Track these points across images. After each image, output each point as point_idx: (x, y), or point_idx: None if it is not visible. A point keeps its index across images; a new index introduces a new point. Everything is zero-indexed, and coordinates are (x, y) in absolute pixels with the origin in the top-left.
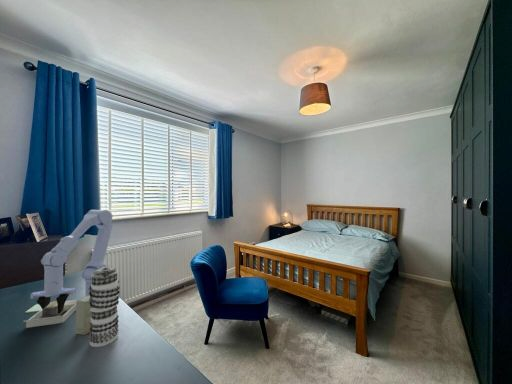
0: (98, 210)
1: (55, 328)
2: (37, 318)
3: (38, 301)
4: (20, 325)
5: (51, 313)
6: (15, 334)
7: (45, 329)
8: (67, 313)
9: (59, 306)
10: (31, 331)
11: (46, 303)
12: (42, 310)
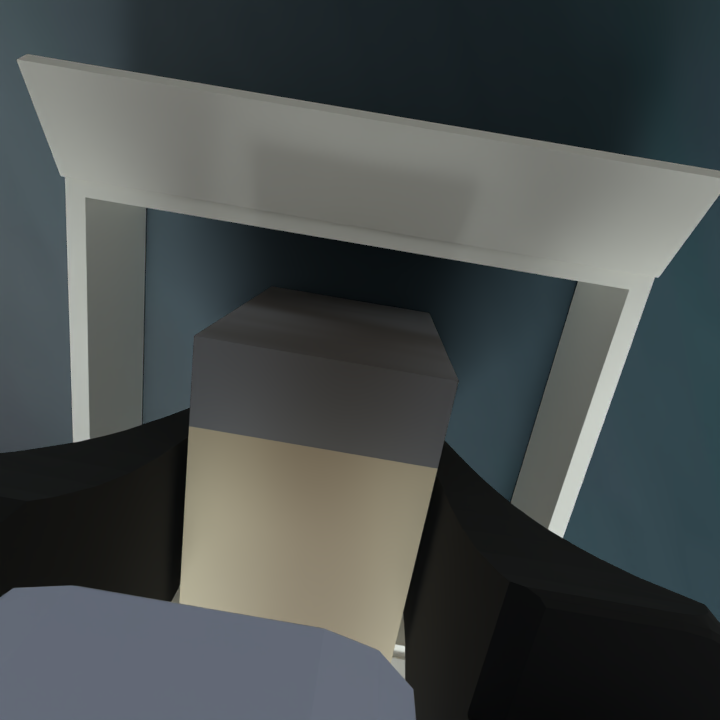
0: None
1: (165, 13)
2: (527, 467)
3: (671, 612)
4: (692, 382)
5: (284, 315)
6: (696, 95)
7: (308, 54)
8: (82, 321)
9: (152, 430)
10: (495, 87)
11: (435, 595)
12: (450, 372)
